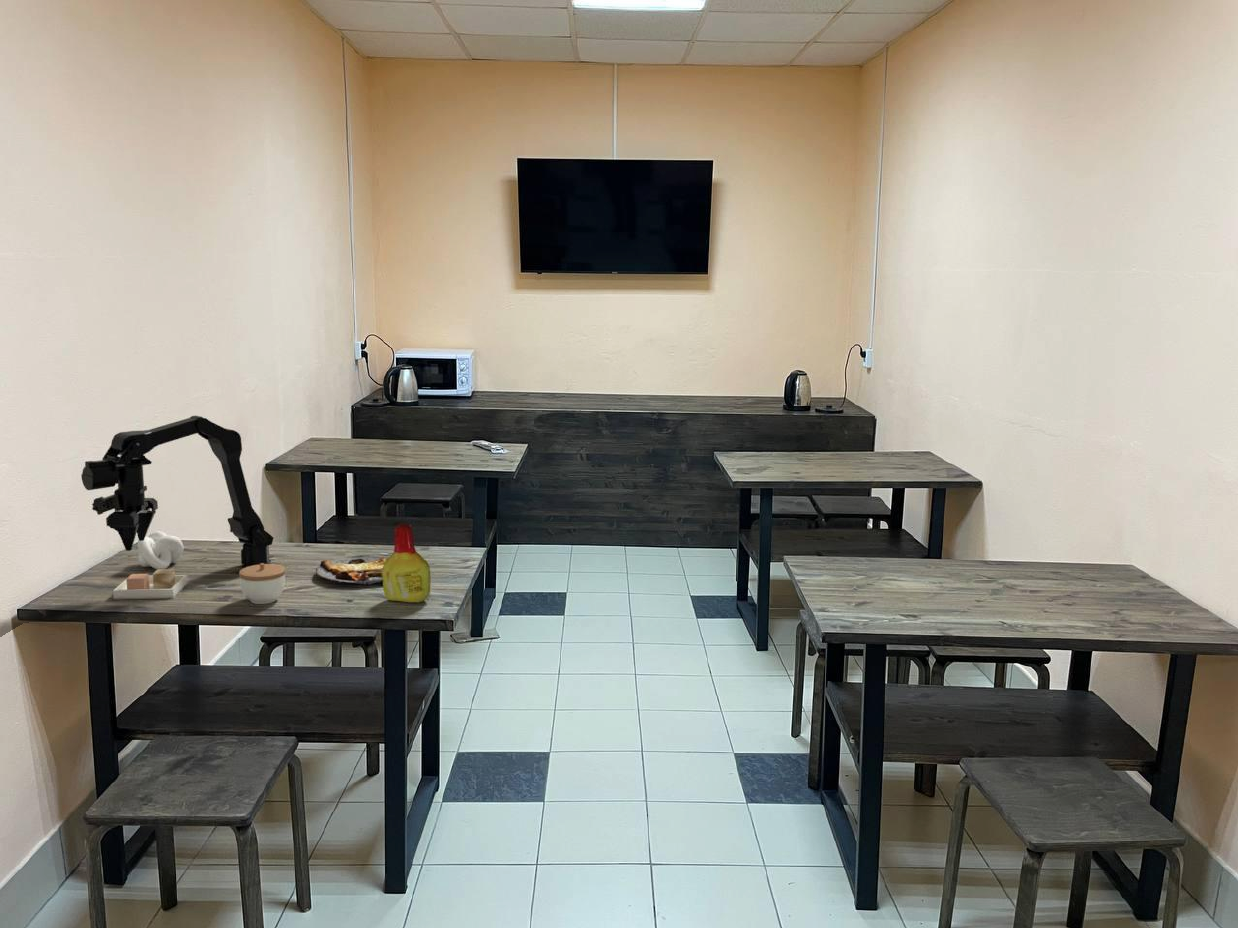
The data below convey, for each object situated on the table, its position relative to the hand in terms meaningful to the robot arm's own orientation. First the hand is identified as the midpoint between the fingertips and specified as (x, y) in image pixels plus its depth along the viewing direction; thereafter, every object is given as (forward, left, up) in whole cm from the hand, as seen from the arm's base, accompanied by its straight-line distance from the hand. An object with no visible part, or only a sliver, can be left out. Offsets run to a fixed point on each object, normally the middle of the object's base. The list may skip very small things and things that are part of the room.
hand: (135, 545), depth 239 cm
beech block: (-5, -4, -12) cm, 14 cm away
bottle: (-67, +10, -13) cm, 68 cm away
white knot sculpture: (+2, -23, -13) cm, 26 cm away
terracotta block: (0, 0, -12) cm, 12 cm away
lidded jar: (-32, +7, -13) cm, 35 cm away
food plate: (-54, -13, -13) cm, 57 cm away
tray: (-3, -2, -12) cm, 13 cm away
